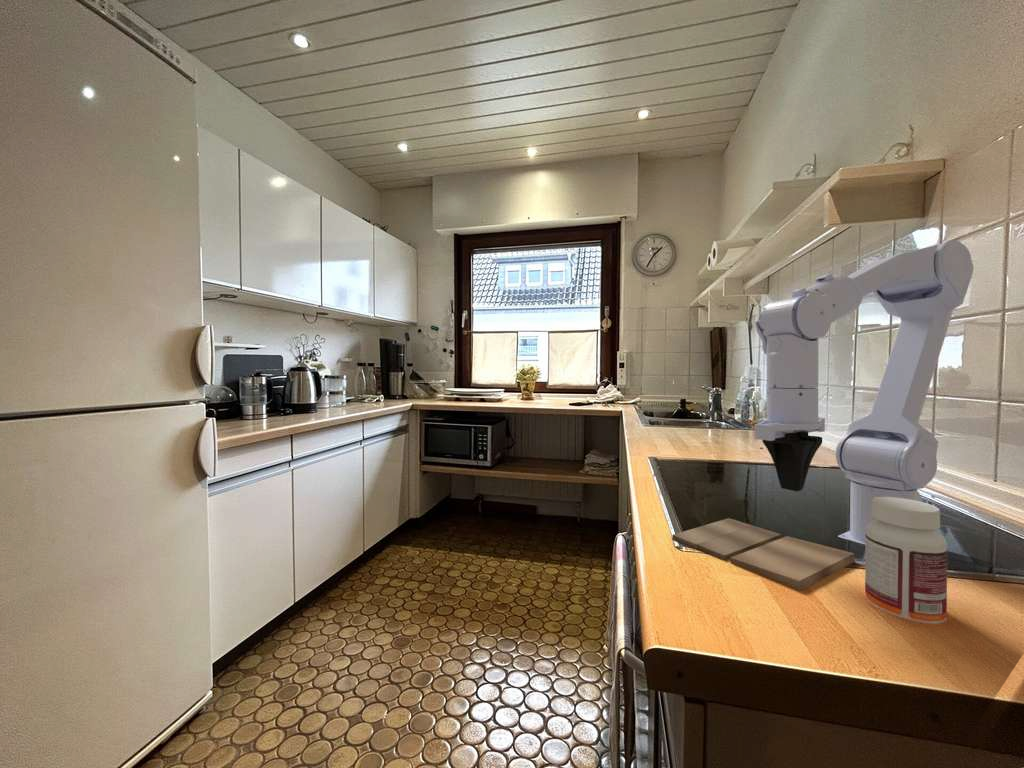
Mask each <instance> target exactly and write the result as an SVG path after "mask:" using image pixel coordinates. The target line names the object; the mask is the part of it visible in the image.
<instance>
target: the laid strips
mask: <svg viewBox="0 0 1024 768" xmlns="http://www.w3.org/2000/svg"><path fill="white" fill-rule="evenodd" d="M671 536H672V537H671V539H672V540H673V541H676V542H678V543H681V544H683V545H685V546H689V547H690V548H693V549H696V550H697V551H700V552H703V553H705V554H707V555H710V556H713V557H715V558H718V559H720V560H722V561H726V560H729V559H730V558H731V557H733V556H736V555H739V554H741V553H744V552H746V551H749V550H752V549H754V548H757V547H759V546H762V545H765V544H767V543H770V542H773V541H775V540H778V539H780V538H782V534H781V533H779V532H776V531H771V530H768V529H766V528H762V527H759V526H755V525H751V524H749V523H746V522H744V521H743V522H742V521H739V520H737V519H734V518H733V519H732V518H729V517H728V518H725V519H721V520H718V521H715V522H711V523H708V524H705V525H701V526H698V527H694V528H691V529H687V530H684V531H680V532H677V533H674V534H672V535H671Z"/></svg>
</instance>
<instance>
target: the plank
mask: <svg viewBox="0 0 1024 768" xmlns="http://www.w3.org/2000/svg"><path fill="white" fill-rule="evenodd" d="M729 559H730V562H729V563H730V564H733V565H734V566H737V567H740V568H742V569H745V570H747V571H750V572H753V573H755V574H757V575H759V576H762V577H765V578H767V579H769V580H772V581H775V582H777V583H780V584H781V585H784V586H787V587H790V588H792V589H794V590H796V591H799V592H801V591H803V590H805V589H806V588H808V587H810V586H812V585H814V584H815V583H818V582H819V581H821V580H823V579H825V578H827V577H829V576H830V575H833V574H835V573H836V572H838V571H840V570H842V569H844V568H846V567H848V566H849V565H852V564H854V563H855V553H854V552H851V551H848V550H843V549H838V548H835V547H830V546H827V545H824V544H818V543H815V542H811V541H807V540H803V539H799V538H797V537H793V536H789V535H786V536H783V537H781V538H780V539H778V540H775V541H773V542H770V543H767V544H765V545H762V546H759V547H757V548H754V549H752V550H749V551H746V552H744V553H741V554H739V555H736V556H733V557H731V558H729Z"/></svg>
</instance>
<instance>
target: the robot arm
mask: <svg viewBox="0 0 1024 768" xmlns="http://www.w3.org/2000/svg"><path fill="white" fill-rule="evenodd" d="M973 273H974V264H973V260H972V257H971V253H970V251H969V248H968V247H967V246H966V245H965V244H963V243H962V242H961V241H959V240H957V239H949V240H946V241H944V242H942V243H939V244H935V245H931V246H926V247H923V248H919V249H918V248H917V249H914V250H910V251H906V252H902V253H898V254H894V255H889V256H881V257H879V258H876V259H875V260H870V261H868V262H867V264H866V265H864V266H862V267H860V268H859V269H857V270H856V271H854V272H853V273H851V274H849V275H848V276H847V275H843V274H842V275H841V274H836V275H833V274H832V273H828V274H824V275H820V276H818V277H816V278H815V279H814V280H815V284H813V285H811V286H808V287H806V288H805V287H802V288H797V289H795V290H793V291H792V292H791V296H789V297H788V298H786V299H781V300H774V301H771V302H770V303H768V304H767V305H764V307H763V309H762V310H761V311H760V313H759V315H758V317H757V318H758V319H757V320H756V321H754V323H755V329H756V330H755V331H756V333H757V334H758V336H759V338H760V339H761V345H762V351H763V352H764V353H763V354H764V355H766V417H760V418H758V419H757V423H755V424H754V439H755V440H761V441H762V443H763V445H764V446H765V448H766V449H767V452H768V453H769V454H770V455H769V456H770V457H771V459H772V462H773V464H774V467H775V471H776V474H777V478H778V483H779V485H780V488H781V489H783V490H788V491H793V492H801V491H803V489H804V486H805V483H806V480H807V476H808V472H809V469H810V465H811V463H812V461H813V458H814V457H815V455H816V453H817V451H818V450H819V448H820V447H821V445H822V444H823V437H822V436H817V435H809V434H810V433H814V432H815V433H816V432H819V433H824V432H825V431H826V418H825V417H819V338H824V337H825V336H826V335H827V333H829V330H830V328H831V324H833V323H835V322H837V321H838V320H840V319H842V318H843V317H845V316H847V315H849V314H851V313H853V312H854V311H856V310H857V309H858V308H859V307H860V305H861V304H862V301H863V297H865V296H868V295H869V294H872V293H873V294H874V296H875V297H876V299H877V300H878V301H879V303H880V304H881V306H882V307H883V309H884V310H885V312H886V313H887V314H888V315H891V316H894V317H897V318H899V319H900V323H899V326H898V329H897V332H896V336H895V339H894V342H893V344H892V347H891V350H890V354H889V356H888V360H887V362H886V366H885V368H884V372H883V375H882V377H881V381H880V384H879V387H878V391H877V393H876V396H875V399H874V402H873V404H872V408H871V412H870V413H869V414H867V415H864V416H862V417H861V418H860V417H859V418H858V419H856V420H854V421H852V422H850V423H848V424H849V425H848V428H847V430H846V432H845V434H844V435H843V436H842V438H841V439H840V440H839V442H838V443H837V444H836V448H835V453H834V454H835V461H836V463H837V466H838V467H839V469H840V470H841V471H842V472H843V473H845V474H844V477H845V479H848V480H850V487H849V488H850V489H849V490H850V494H849V495H850V501H849V503H850V504H849V507H850V508H849V510H850V511H849V513H850V514H849V530H848V531H846V532H843V533H842V534H839V535H837V537H839V538H841V539H844V540H847V541H850V542H851V541H852V542H854V543H858V544H861V545H865V546H866V534H865V532H866V527H867V525H868V524H869V523H870V522H872V521H875V520H878V519H876V518H874V517H873V516H872V515H871V506H872V499H873V498H875V497H895V498H903V499H910V500H915V501H920V502H923V501H924V500H923V497H922V496H921V494H920V492H919V491H918V490H921V489H924V488H925V486H927V485H928V484H929V483H930V482H932V481H933V479H934V478H935V476H936V473H937V470H938V459H937V453H938V447H939V446H938V445H939V441H938V439H937V438H936V437H935V435H934V434H933V433H932V432H930V431H929V430H928V429H927V428H926V427H924V426H923V425H921V424H920V422H919V421H920V417H921V414H922V412H923V408H924V405H925V402H926V400H927V396H928V393H929V390H930V389H929V388H930V385H931V382H932V379H933V376H934V374H935V371H936V367H937V364H938V362H939V361H938V360H939V358H940V355H941V351H942V348H943V345H944V343H945V338H946V335H947V332H948V330H949V326H950V323H951V320H952V316H953V312H954V310H955V309H957V308H959V307H960V306H961V305H963V303H964V301H965V297H966V295H967V293H968V289H969V287H970V283H971V279H972V277H973Z"/></svg>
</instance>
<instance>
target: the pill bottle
mask: <svg viewBox="0 0 1024 768" xmlns="http://www.w3.org/2000/svg"><path fill="white" fill-rule="evenodd" d="M871 515H872V516H873V517H874V518H876V519H878V520H875V521H872V522H870V523H869V524H868V525H867V527H866V532H865V534H866V545H865V551H864V552H865V554H864V555H865V559H864V560H865V562H864V564H865V565H864V566H865V567H864V570H865V571H864V573H865V574H864V591H865V592H864V594H865V598H866V600H867V601H868V602H869V603H870V604H871V605H872V606H873V607H876V608H878V609H879V610H881V611H883V612H886V613H888V614H890V615H893V616H895V617H899V618H902V619H905V620H909V621H913V622H918V623H922V624H923V623H924V624H942V623H945V622H946V621H947V618H948V617H947V615H948V614H947V613H948V611H947V610H948V609H947V608H948V607H947V605H948V590H947V589H948V549H949V548H948V543H947V539H945V537H944V535H942V534H941V533H939V532H938V531H936V530H938V529H939V528H941V510H940V508H938V507H937V506H935V505H934V504H930V503H927V502H920V501H915V500H910V499H903V498H895V497H875V498H873V499H872V506H871Z"/></svg>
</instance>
